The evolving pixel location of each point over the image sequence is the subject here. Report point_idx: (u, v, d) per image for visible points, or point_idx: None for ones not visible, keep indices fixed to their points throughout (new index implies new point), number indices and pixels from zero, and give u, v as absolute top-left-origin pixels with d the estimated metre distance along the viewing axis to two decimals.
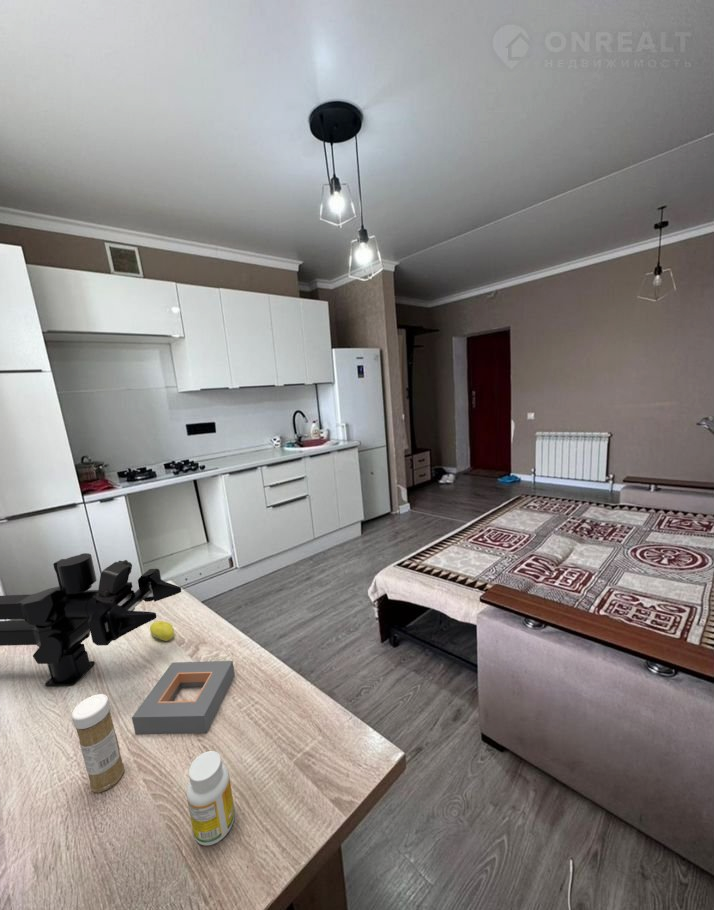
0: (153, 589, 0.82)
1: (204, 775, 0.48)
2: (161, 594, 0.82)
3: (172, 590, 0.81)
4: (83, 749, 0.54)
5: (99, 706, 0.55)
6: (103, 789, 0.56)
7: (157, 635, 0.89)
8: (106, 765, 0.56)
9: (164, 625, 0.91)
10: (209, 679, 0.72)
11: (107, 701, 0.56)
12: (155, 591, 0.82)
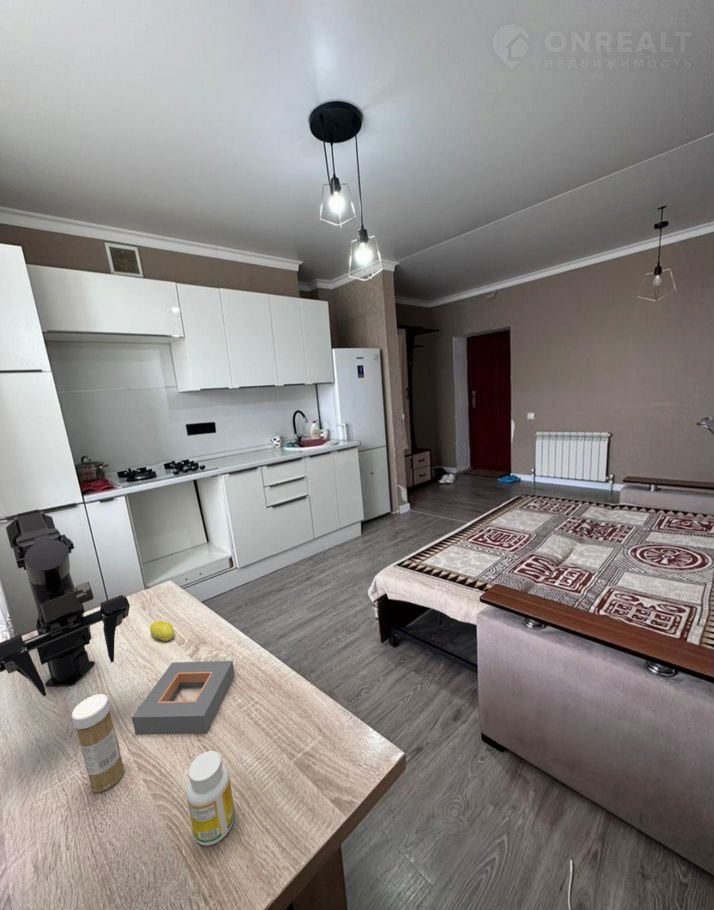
0: (104, 626, 0.67)
1: (204, 775, 0.48)
2: (105, 638, 0.67)
3: (108, 652, 0.65)
4: (83, 749, 0.54)
5: (99, 706, 0.55)
6: (103, 789, 0.56)
7: (157, 635, 0.89)
8: (106, 765, 0.56)
9: (164, 625, 0.91)
10: (209, 679, 0.72)
11: (107, 701, 0.56)
12: (104, 628, 0.67)
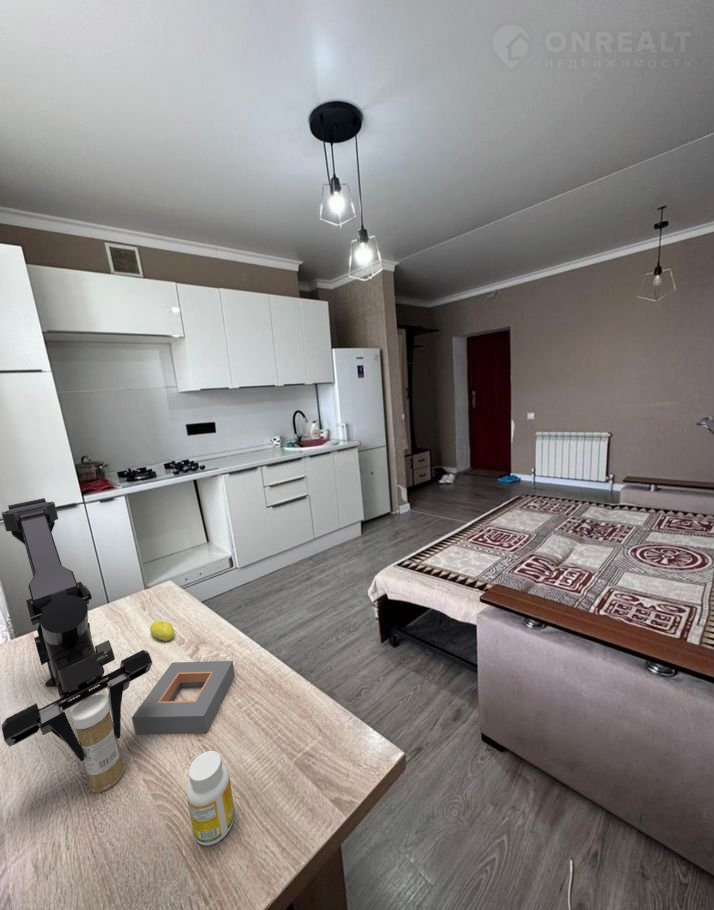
0: (109, 694, 0.60)
1: (204, 775, 0.48)
2: (110, 708, 0.60)
3: None
4: (83, 749, 0.54)
5: (99, 706, 0.55)
6: (103, 789, 0.56)
7: (157, 635, 0.89)
8: (106, 765, 0.56)
9: (164, 625, 0.91)
10: (209, 679, 0.72)
11: (107, 701, 0.56)
12: (109, 697, 0.60)
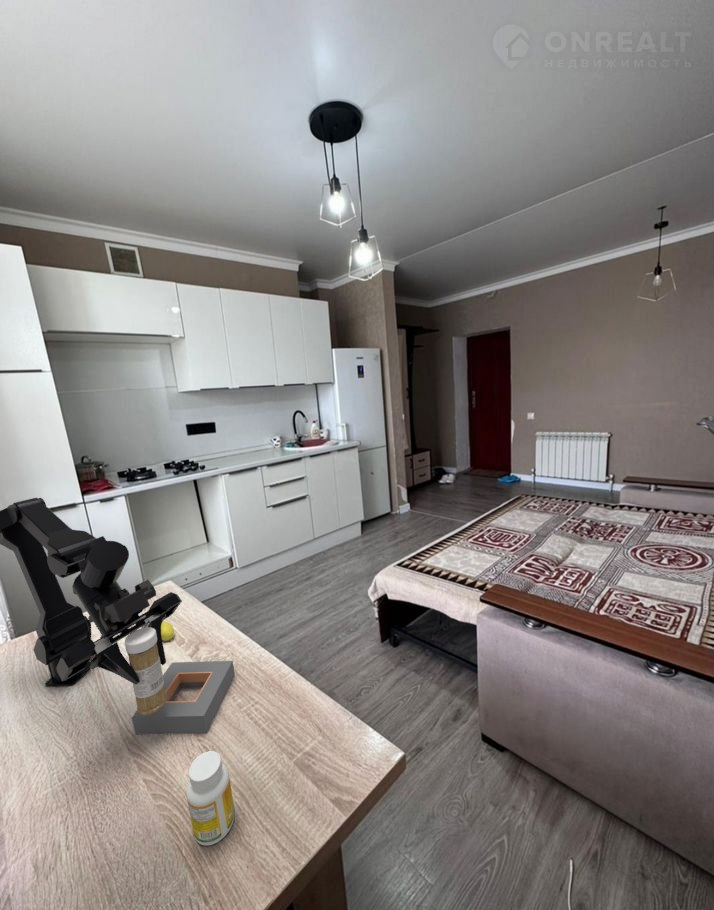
0: None
1: (204, 775, 0.48)
2: None
3: None
4: (137, 674, 0.60)
5: (151, 633, 0.62)
6: (153, 711, 0.62)
7: None
8: (156, 688, 0.62)
9: (164, 625, 0.91)
10: (209, 679, 0.72)
11: (155, 630, 0.63)
12: None
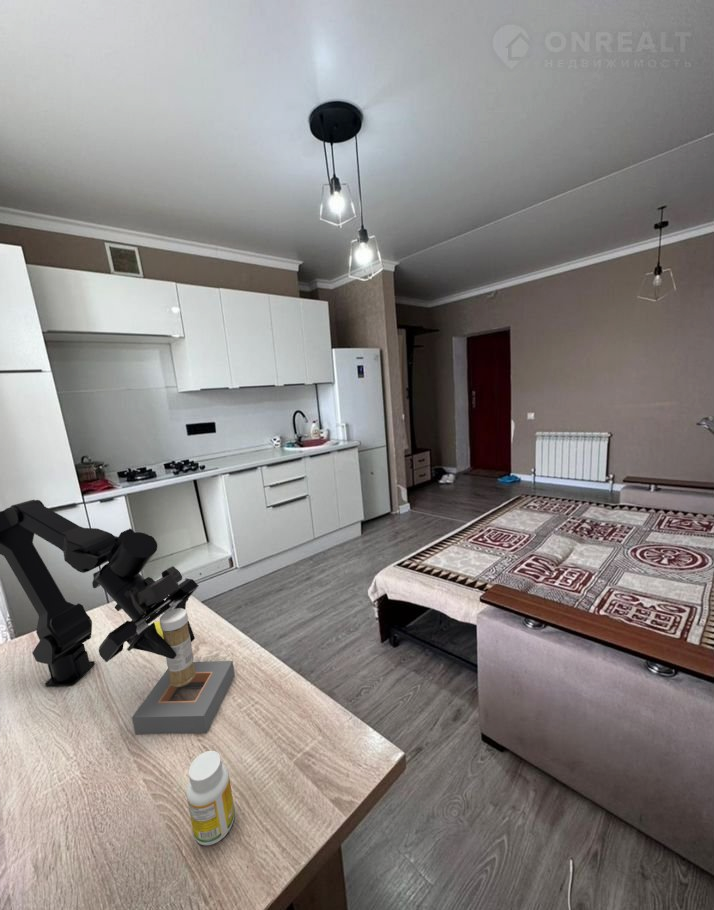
0: None
1: (204, 775, 0.48)
2: None
3: None
4: (173, 649, 0.67)
5: (183, 612, 0.68)
6: (187, 682, 0.69)
7: None
8: (189, 661, 0.69)
9: None
10: (209, 679, 0.72)
11: (185, 610, 0.70)
12: None
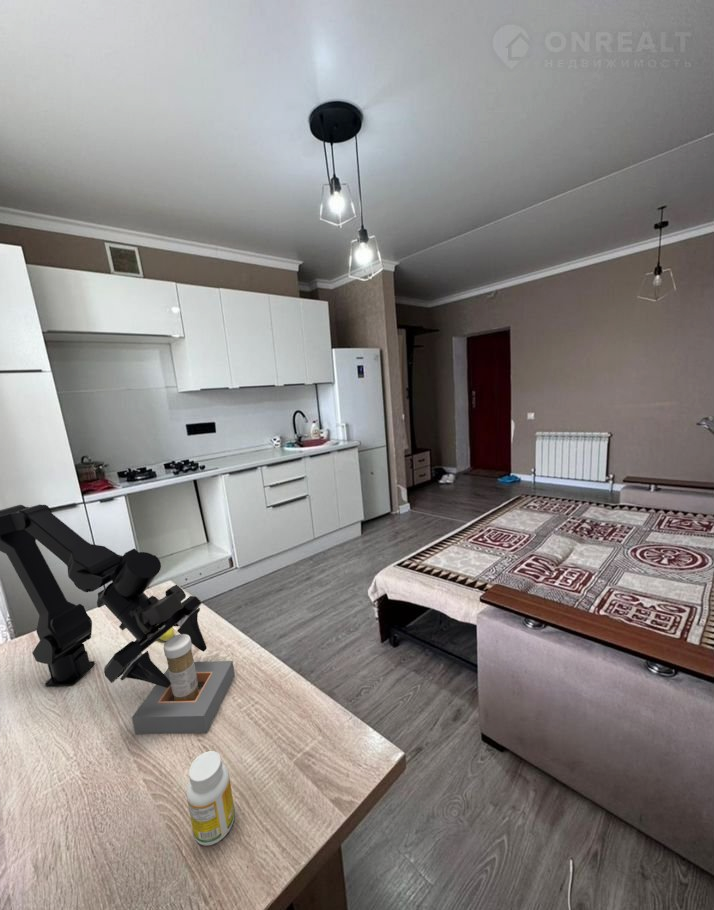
0: (184, 624, 0.75)
1: (204, 775, 0.48)
2: (187, 634, 0.75)
3: (198, 643, 0.74)
4: (178, 675, 0.68)
5: (187, 638, 0.69)
6: None
7: None
8: (194, 686, 0.70)
9: None
10: (209, 679, 0.72)
11: (188, 636, 0.70)
12: (184, 627, 0.75)
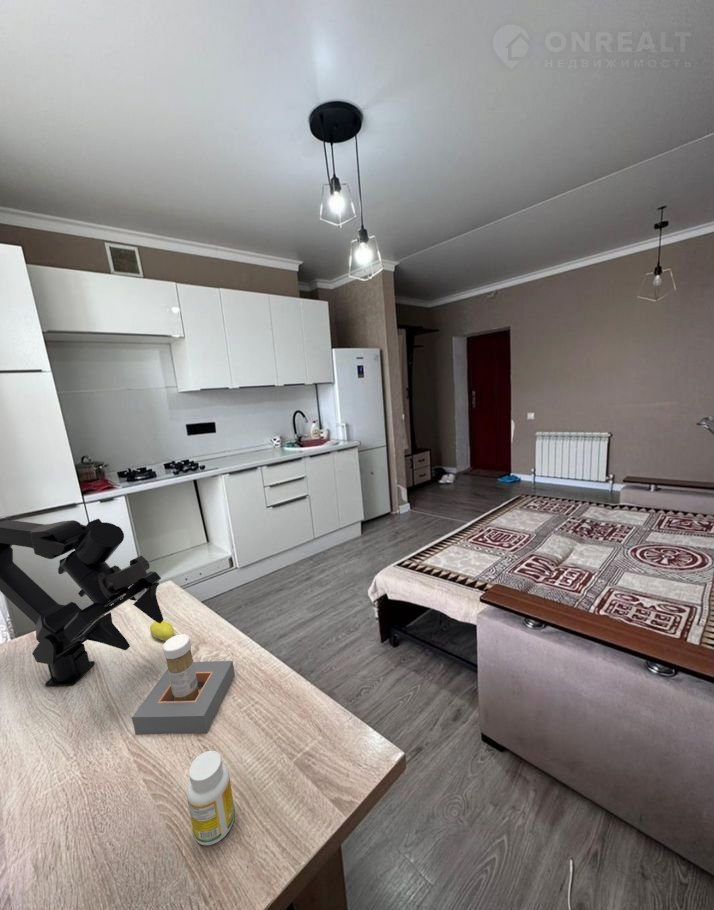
0: (142, 597, 0.78)
1: (204, 775, 0.48)
2: (144, 607, 0.78)
3: (155, 615, 0.77)
4: (177, 676, 0.67)
5: (186, 639, 0.69)
6: None
7: (157, 635, 0.89)
8: (194, 686, 0.70)
9: (164, 625, 0.91)
10: (209, 679, 0.72)
11: (188, 636, 0.70)
12: (142, 599, 0.78)
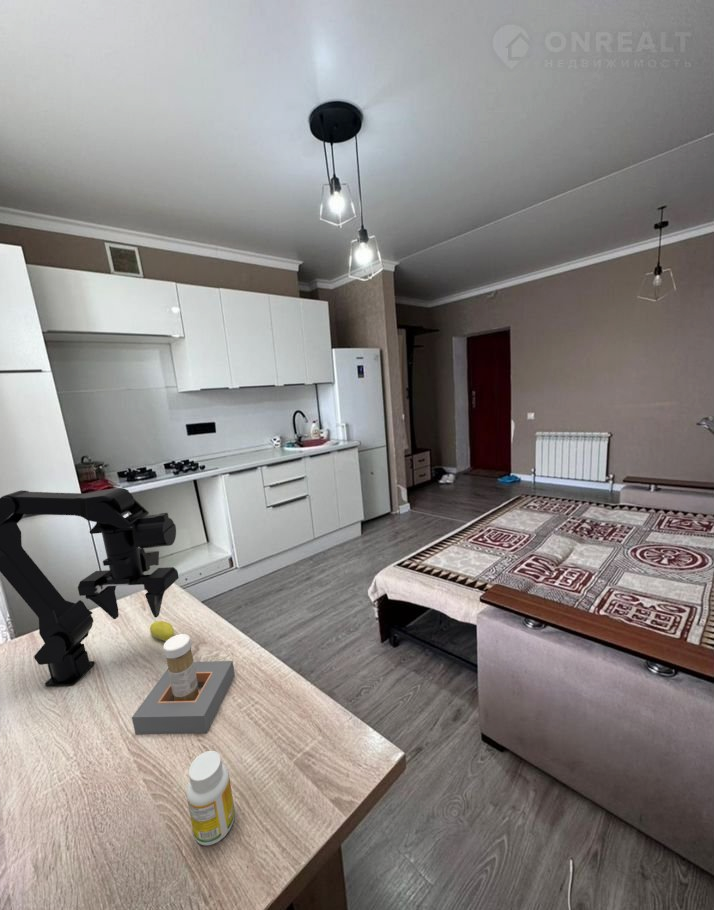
0: (108, 590, 0.79)
1: (204, 775, 0.48)
2: (107, 601, 0.78)
3: (115, 610, 0.80)
4: (177, 675, 0.68)
5: (186, 638, 0.69)
6: None
7: (157, 635, 0.89)
8: (194, 686, 0.70)
9: (164, 625, 0.91)
10: (209, 679, 0.72)
11: (188, 636, 0.70)
12: (106, 593, 0.79)
